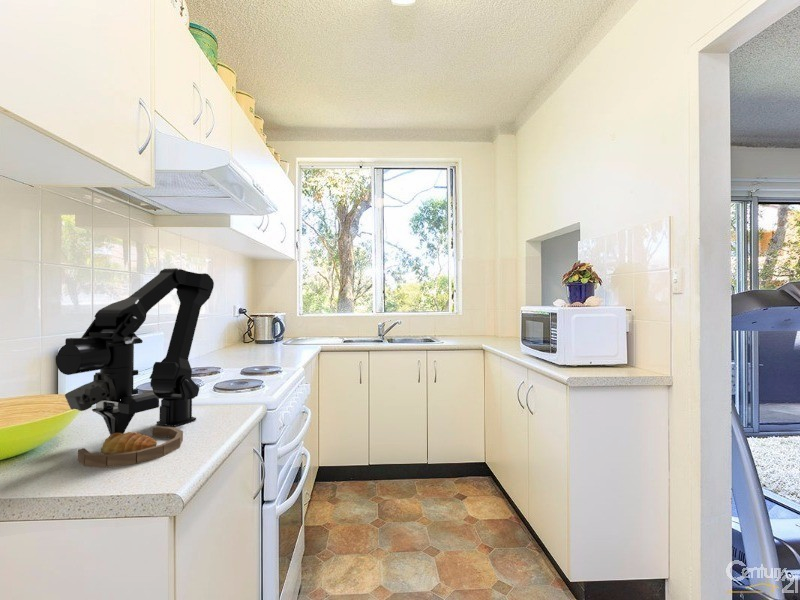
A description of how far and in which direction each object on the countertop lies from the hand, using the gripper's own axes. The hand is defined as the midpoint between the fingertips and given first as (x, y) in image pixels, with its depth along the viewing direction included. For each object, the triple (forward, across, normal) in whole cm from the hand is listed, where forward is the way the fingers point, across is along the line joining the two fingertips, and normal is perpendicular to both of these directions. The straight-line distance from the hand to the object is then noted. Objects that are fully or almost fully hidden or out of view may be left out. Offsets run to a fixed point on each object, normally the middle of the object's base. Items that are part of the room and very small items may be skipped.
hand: (116, 440), depth 82 cm
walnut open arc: (+1, +8, 0) cm, 8 cm away
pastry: (+2, +5, -1) cm, 5 cm away
